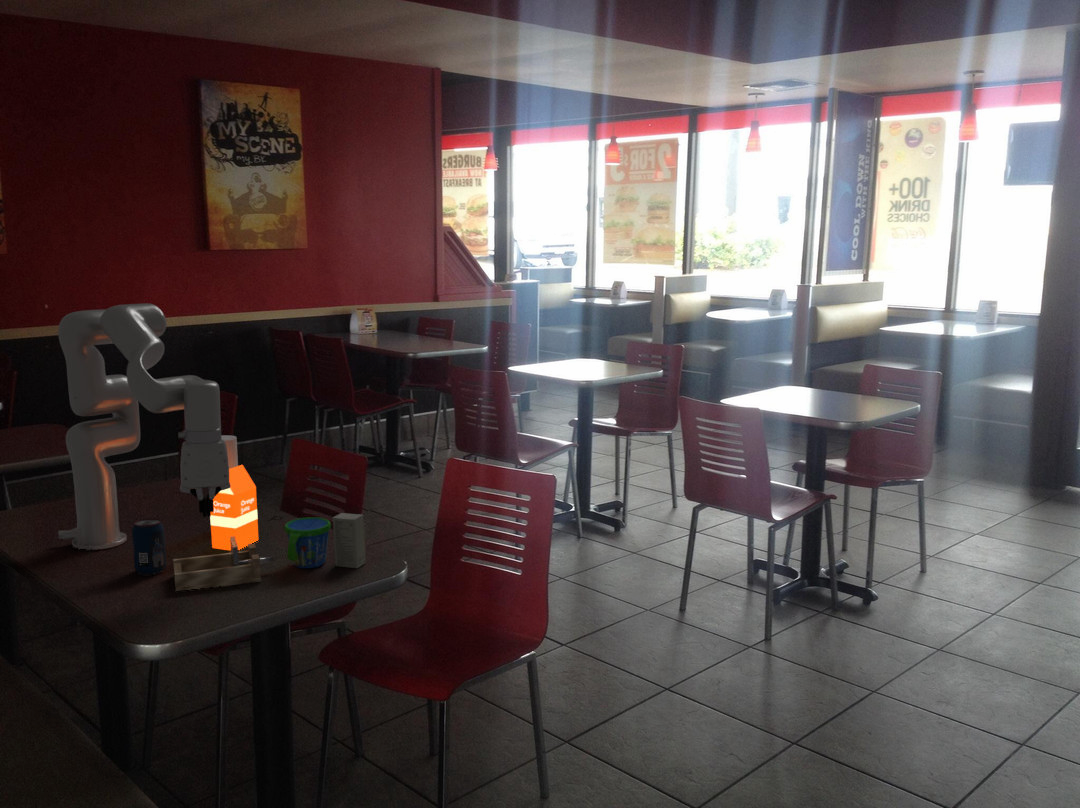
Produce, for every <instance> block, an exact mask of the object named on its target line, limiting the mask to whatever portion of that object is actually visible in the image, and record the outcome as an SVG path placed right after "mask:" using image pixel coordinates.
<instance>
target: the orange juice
mask: <svg viewBox="0 0 1080 808" xmlns="http://www.w3.org/2000/svg"><path fill="white" fill-rule="evenodd" d="M229 482H230V485H231V487H230V488H229V489H225V490H222V491H220V492H219V493H218V494H217V495H216V496H215V497H214V499H213V508H214V512H211V517H209V520H210V532H211V533H210V534H211V545H212V546H211V548H212V549H218V550H224V551H229V552H231V543H230V537H232V536H235V539H236V543H237V546H238V550H239V551H241V550H243V549H245V548H247V547H248V544H252V543H254V542H256V541H258V540H259V524H258V523H259V521H258V519H259V517H258V506H257V505H258V503H257V501H258V500H257V486H256V484H255V483H254V481H253V480H252V478H251V476H250V474H249V473H248V471H247V469H246V468H245V466H244V465H243V464H241V465H239V464H238V466H236V467H234V468H231V469H229ZM258 542H259V541H258ZM256 543H257V542H256ZM254 544H255V543H254ZM246 546H247V547H246ZM244 547H245V548H244ZM242 548H243V549H242ZM240 549H241V550H240Z"/></svg>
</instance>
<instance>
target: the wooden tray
mask: <svg viewBox="0 0 1080 808" xmlns="http://www.w3.org/2000/svg"><path fill="white" fill-rule="evenodd" d="M260 558H261V557H260V556H259V553H257V547H256V543H254V544H248V546H247V550H243V551H242V550H239V551H238V560H239V561H241V560H249V559H252V564H248V565H240V566H232V561H231V552H224V553H217V554H209V555H200V556H199V555H198V556H190V557H181V558H173V559H172V561H173V570H174V571H173V573H174V575H175V576H174V586H175V588H176V589H175V592H176V591H180V590H190V591H192V590H191V589H198V590H201V589H200V588H205V589H211V588H210V587H213V588H218V587H219V586H221V587H229V586H234V585H243V583H244V584H250V583H251V582H252V583H259V582H261V581H262V577H261V575H262V574H261V563H260ZM219 588H220V587H219Z"/></svg>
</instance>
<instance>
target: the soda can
mask: <svg viewBox="0 0 1080 808" xmlns="http://www.w3.org/2000/svg"><path fill="white" fill-rule="evenodd" d="M131 536H132V537H131V538H132V550H133V551H132V552H133V564H134V569H135V571H136V573H137V574H138V573H140V574H153V573H158V572H160V571H162V572H164V570H165V569H166V566H167V565H168V563H167V553H166V552H167V551H166V537H165V526H164V525H163V523H162V521H161V519H160V518H155V517H149V518H148V517H147V518H143V519H139V520H135V522H134V523H133V527H132V529H131ZM140 574H139V575H140ZM158 574H159V573H158Z"/></svg>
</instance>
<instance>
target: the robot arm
mask: <svg viewBox="0 0 1080 808" xmlns="http://www.w3.org/2000/svg"><path fill="white" fill-rule="evenodd" d="M58 324H59V325H58V333H57V334H58V340H59V344H60V347H61V350H62V352H63V355H64V358H65V359H64V360H65V363H66V364H65V365H66V375H67V386H68V388H67V389H68V397H69V398H68V400H69V405H70V409H71V411H72V413H74V414H75V415H76V416H80V417H94V416H99V415H101V416H102V415H107V414H112V417H108V418H107V417H106V418H100V419H99V418H98V419H93V420H86V421H82V422H79V423H76V424H74V425H72V426H71V427H70V428H69V429H68V430H67V432H66V434H65V445H66V449H67V451H68V455H69V459H70V463H71V471H72V479H73V486H74V499H75V511H76V513H75V514H76V522H77V525H76V527H75V528H72V529H69V530H65V529H64V530H58V531H57V532H58V539H63V541H66V540H72V539H73V540H72V542H71V545H73V546H72V548H74V547H75V548H74V549H76V548H78V549H77V550H80V549H86V550H85V551H97V550H98V549H99V550H105V549H110V548H114V547H117V546H120V545H122V544H124V543H126V542H127V540H128V539H127V534H126V533H124V532H121V531H120V521H119V519H120V517H119V509H118V508H119V506H118V495H117V482H116V475H115V471H114V469H113V468H112V466H110V464H109V463H108V462H107V461H106V459H105V458H107V457H110V456H115V455H116V456H117V455H121V454H125V453H130V452H132V451H134V450H135V449H137V448H138V446H139V444H140V442H141V423H140V410H139V409H140V408H139V407H140V405H141V406H142V407H143V408H144V409H146V410H147V411H148V412H151V413H153V414H161V413H169V412H174V411H181V410H183V411H184V412H183V414H184V430H183V431H179V432H178V433H177V434H178V435H177V436H178V439H183V440H185V441H183V442H182V444H181V450H180V487H179V491H180V492H181V493H187V494H192V495H193V497H195V498H197V499H198V509H199V510H198V511H199V513H200V514H202V516H203V518H206V517H208V518H210V517H211V512H214V508H213V499H214V497H215V496H216V495H217V494H218V493H219V492H220V491H222V490H225V489H229V488H230V487H231V485H230V482H229V463H228V453H227V448H226V444H225V441H224V440H221V436H222V422H221V421H222V419H221V397H220V396H221V395H220V394H221V392H220V385H219V384H218V383H217V382H216V381H214V380H209V379H203V378H201V377H199V376H197V375H193V374H192V375H191V374H187V375H180V376H179V375H177V376H169V377H162V378H157V379H156V378H154V377H152V376H151V374H150V373H149V372H148V371H147V370H149V369H151V368H152V367H154V366H155V365H157V364H158V362H159V361H161V359H162V357H163V356H164V354H165V344H164V342H163V341H162V340H161V338H160V337H161V336H163V335H164V333H165V332H166V329H167V319H166V316H165V314H164V312H163V310H161V308H159V307H158V305H155V304H153V303H129V304H118V305H117V304H116V305H113V306H111V307H108V308H106V309H105V308H104V309H88V310H87V309H86V310H85V309H84V310H79V311H73V312H70V313H68V314H65V316H63V317H62V318H61V319H60V322H59V323H58ZM110 344H113V345H115V347H116V348H117V349H118V350H119V351H120V353H121V354H122V355H123V357H124V358H125V359H126V360H127V361H128V363H127V367H126V375H124V374H109V375H106V374H107V373H106V366H105V365H106V364H105V363H106V362H105V358H104V357H103V355H102V353H101V352H100V350H98V348H97V347H96V346H97V345H98V346H100V345H110ZM139 403H140V405H139ZM206 488H208V493H207V494H206V496H205V494H203V489H206ZM91 549H92V550H91ZM99 550H98V551H99Z"/></svg>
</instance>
